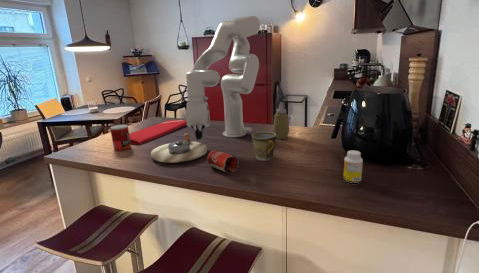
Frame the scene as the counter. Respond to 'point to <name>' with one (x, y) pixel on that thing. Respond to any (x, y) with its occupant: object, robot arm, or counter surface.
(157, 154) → the platter
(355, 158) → the supplement bottle
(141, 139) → the dish drying mat
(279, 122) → the squeeze bottle
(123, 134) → the canned food
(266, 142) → the ceramic cup
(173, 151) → the cover
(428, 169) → the counter surface
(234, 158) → the beverage can
